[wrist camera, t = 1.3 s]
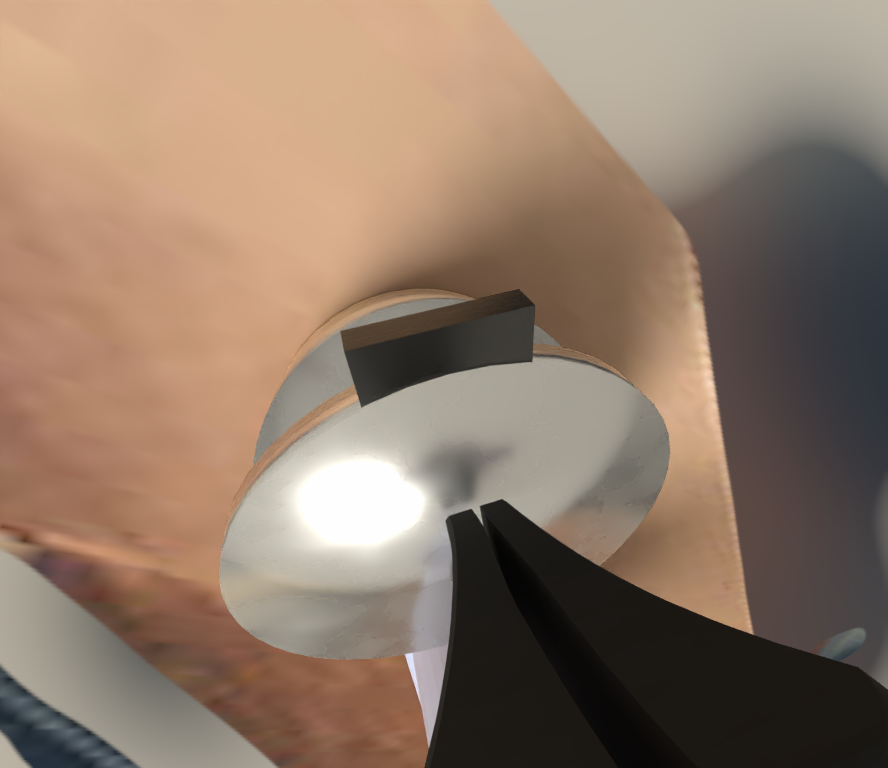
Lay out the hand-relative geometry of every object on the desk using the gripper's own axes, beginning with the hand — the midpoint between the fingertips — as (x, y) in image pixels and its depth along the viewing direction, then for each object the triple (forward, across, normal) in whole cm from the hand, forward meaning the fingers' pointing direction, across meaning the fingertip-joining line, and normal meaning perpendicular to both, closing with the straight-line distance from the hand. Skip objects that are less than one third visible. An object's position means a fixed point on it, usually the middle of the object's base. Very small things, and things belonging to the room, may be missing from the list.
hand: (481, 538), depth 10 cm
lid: (+3, 0, +2) cm, 3 cm away
